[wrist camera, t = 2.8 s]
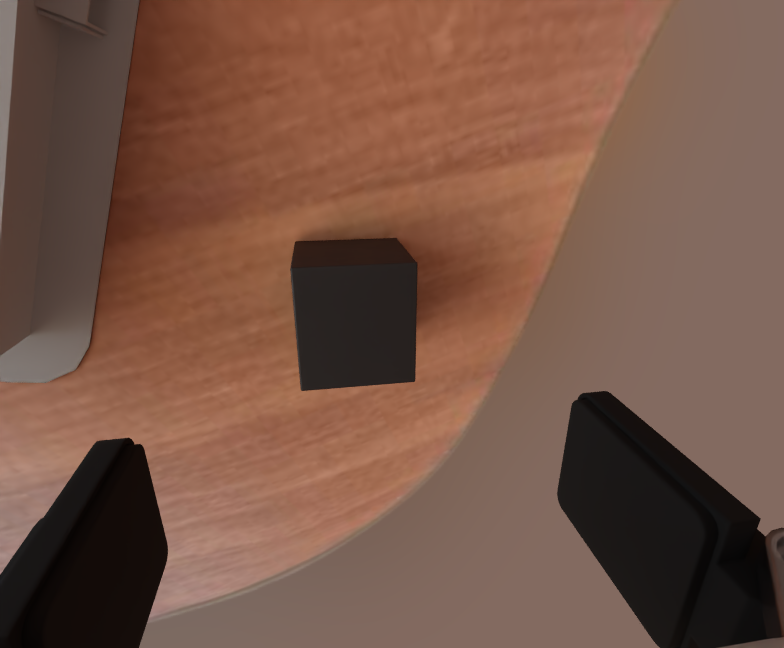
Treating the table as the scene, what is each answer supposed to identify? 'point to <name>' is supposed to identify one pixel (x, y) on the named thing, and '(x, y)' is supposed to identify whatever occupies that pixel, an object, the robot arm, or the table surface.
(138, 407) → the table surface
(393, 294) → the box
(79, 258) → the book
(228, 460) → the table surface
